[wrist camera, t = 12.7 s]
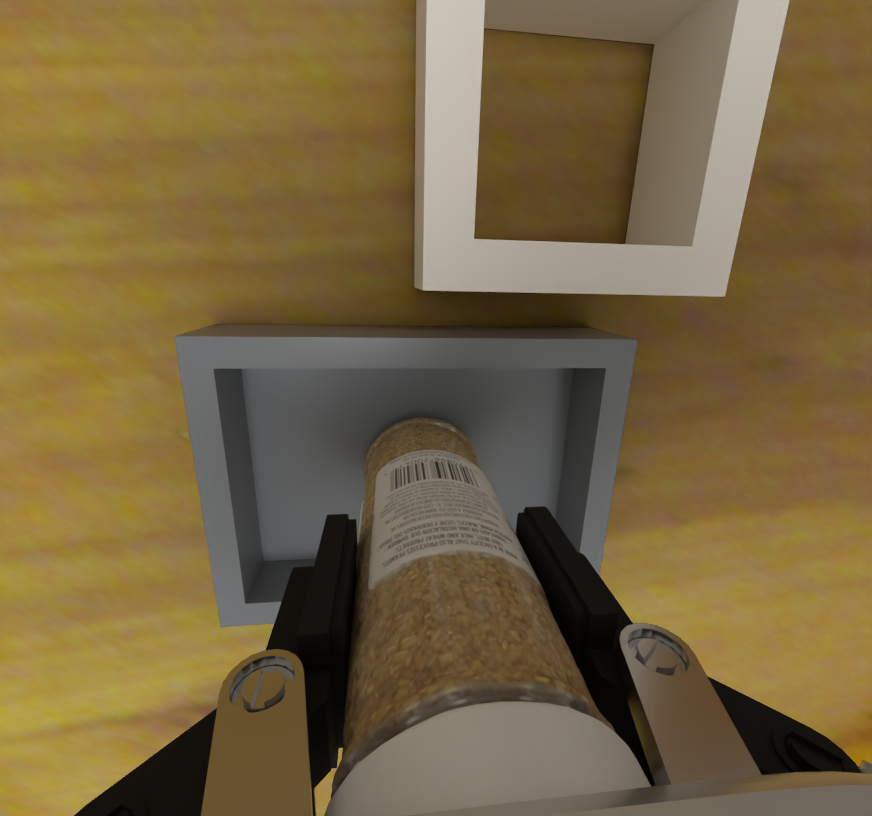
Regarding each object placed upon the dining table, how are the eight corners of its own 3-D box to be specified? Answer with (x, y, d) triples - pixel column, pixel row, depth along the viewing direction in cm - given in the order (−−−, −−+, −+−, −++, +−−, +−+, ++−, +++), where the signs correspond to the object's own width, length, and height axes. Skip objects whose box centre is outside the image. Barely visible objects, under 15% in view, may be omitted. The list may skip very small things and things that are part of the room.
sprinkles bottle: (352, 503, 17) (246, 1175, 4) (382, 399, 16) (359, 899, 3) (457, 526, 18) (631, 1143, 5) (494, 429, 17) (829, 915, 4)
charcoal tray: (590, 327, 18) (637, 339, 15) (561, 550, 21) (594, 601, 18) (217, 324, 16) (174, 336, 13) (248, 567, 19) (220, 627, 16)
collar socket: (701, -4, 15) (811, -101, 11) (651, 292, 18) (725, 296, 14) (416, -36, 14) (428, -156, 10) (414, 287, 17) (422, 290, 13)
